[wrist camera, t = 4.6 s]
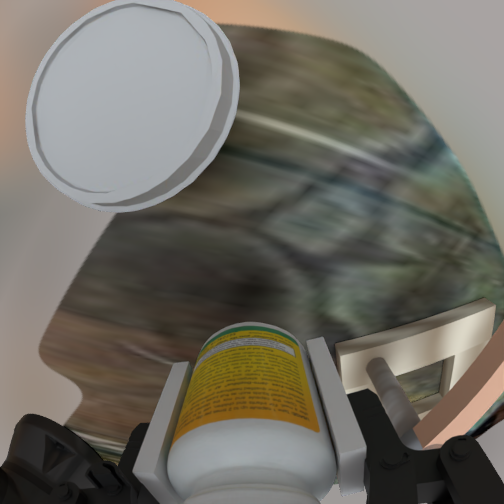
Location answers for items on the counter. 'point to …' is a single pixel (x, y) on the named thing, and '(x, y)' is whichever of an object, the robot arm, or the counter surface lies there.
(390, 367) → the keeper board
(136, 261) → the counter surface
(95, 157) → the disposable coffee cup
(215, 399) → the supplement bottle
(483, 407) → the bar
